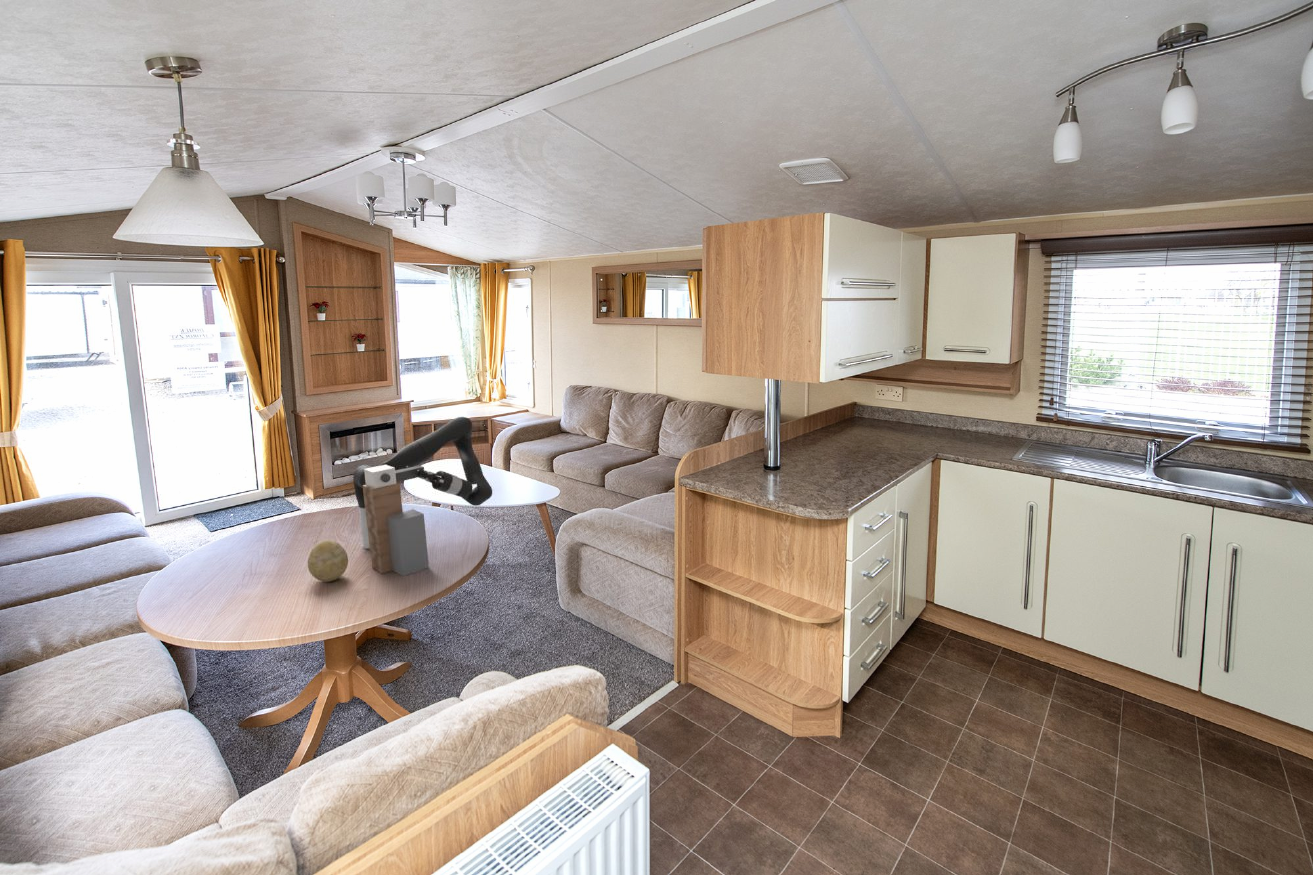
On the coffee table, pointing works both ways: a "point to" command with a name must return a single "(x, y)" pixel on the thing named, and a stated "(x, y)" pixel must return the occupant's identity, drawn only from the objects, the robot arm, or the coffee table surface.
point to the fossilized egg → (327, 561)
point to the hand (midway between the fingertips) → (411, 470)
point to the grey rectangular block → (408, 542)
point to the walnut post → (381, 522)
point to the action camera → (389, 475)
